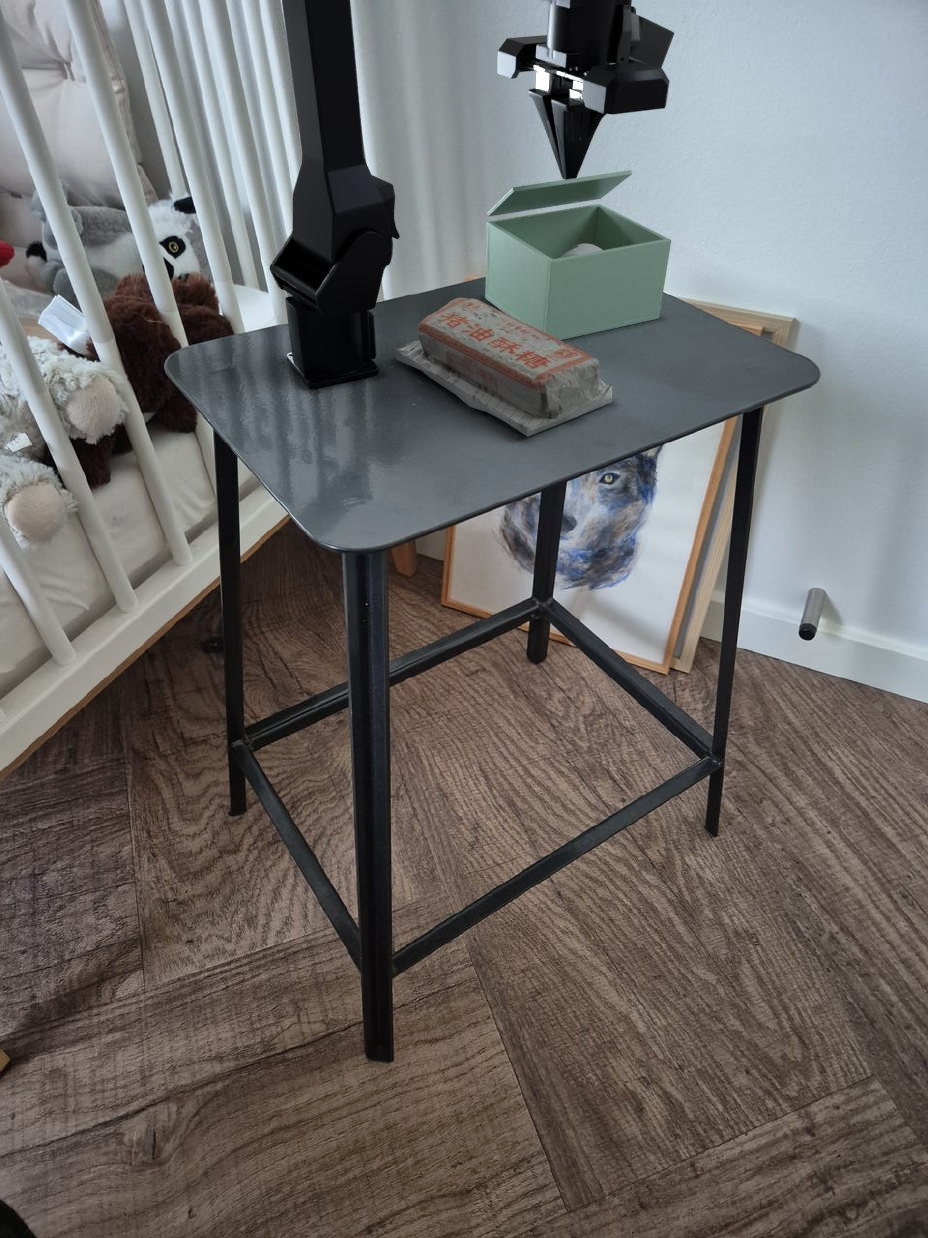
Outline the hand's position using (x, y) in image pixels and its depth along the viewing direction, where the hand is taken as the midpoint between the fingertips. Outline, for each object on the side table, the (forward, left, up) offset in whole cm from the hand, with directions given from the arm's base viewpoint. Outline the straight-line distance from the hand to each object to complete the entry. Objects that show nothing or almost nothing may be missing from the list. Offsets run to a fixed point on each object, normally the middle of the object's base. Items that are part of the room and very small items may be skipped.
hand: (569, 179), depth 82 cm
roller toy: (0, -4, -11) cm, 12 cm away
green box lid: (0, +1, -2) cm, 2 cm away
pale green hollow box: (0, -2, -12) cm, 12 cm away
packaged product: (-14, -13, -12) cm, 22 cm away
